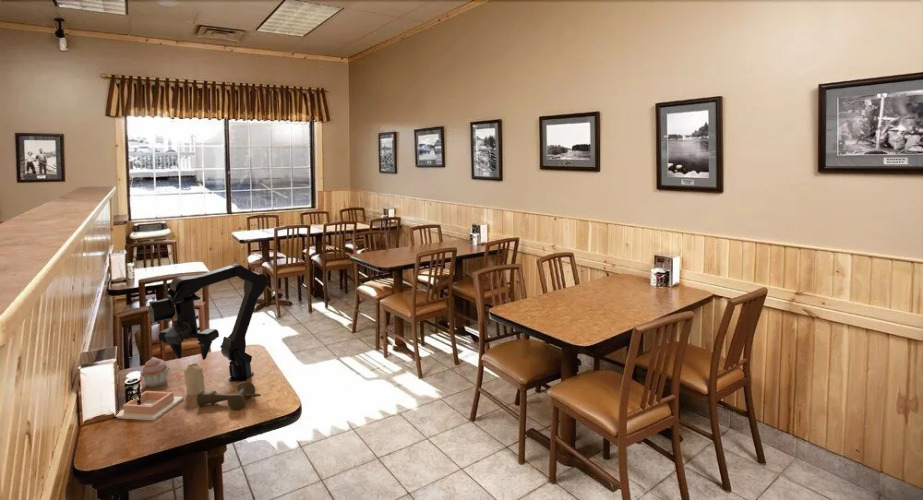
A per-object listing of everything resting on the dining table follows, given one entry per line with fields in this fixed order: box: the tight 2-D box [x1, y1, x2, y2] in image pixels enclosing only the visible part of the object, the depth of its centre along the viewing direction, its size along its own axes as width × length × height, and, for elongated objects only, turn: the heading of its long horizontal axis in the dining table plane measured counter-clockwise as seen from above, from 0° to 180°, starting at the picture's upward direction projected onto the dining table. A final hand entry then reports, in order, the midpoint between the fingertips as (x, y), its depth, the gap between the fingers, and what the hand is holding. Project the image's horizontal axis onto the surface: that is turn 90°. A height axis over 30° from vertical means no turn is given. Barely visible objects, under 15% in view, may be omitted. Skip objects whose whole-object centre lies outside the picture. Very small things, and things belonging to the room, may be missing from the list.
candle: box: [183, 363, 206, 397], centre depth 180 cm, size 6×6×10 cm
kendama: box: [196, 381, 262, 411], centre depth 172 cm, size 6×10×20 cm
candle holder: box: [116, 390, 185, 421], centre depth 171 cm, size 14×14×3 cm
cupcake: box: [139, 356, 171, 388], centre depth 188 cm, size 9×9×10 cm
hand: (191, 358), depth 179 cm, fingers open, 9 cm apart
